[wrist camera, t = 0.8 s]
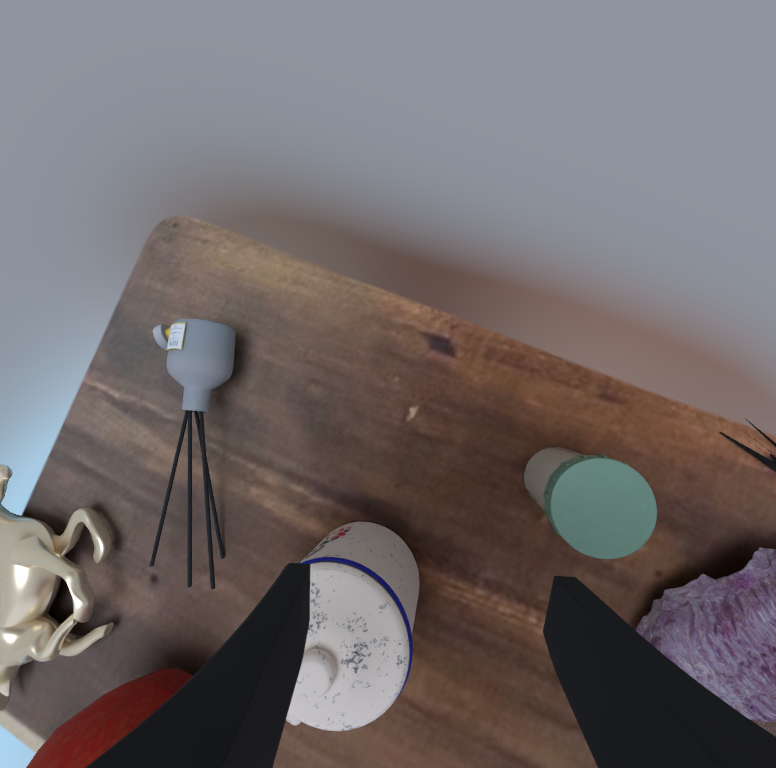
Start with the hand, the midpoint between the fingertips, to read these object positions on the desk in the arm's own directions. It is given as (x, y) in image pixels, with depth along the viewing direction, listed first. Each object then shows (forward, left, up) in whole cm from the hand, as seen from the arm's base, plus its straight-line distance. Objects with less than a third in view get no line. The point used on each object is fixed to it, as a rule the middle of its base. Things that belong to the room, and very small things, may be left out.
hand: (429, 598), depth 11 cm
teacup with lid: (-1, +11, -19) cm, 22 cm away
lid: (-6, -6, -10) cm, 13 cm away
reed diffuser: (+16, +11, -19) cm, 27 cm away
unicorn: (+12, +27, -16) cm, 34 cm away
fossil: (-20, -6, -19) cm, 28 cm away
